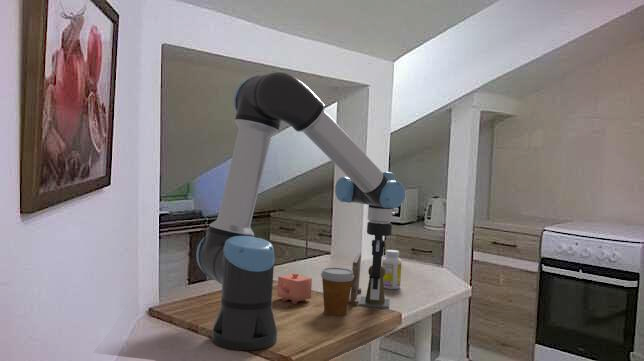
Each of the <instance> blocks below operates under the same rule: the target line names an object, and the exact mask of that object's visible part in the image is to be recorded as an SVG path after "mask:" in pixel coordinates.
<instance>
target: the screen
mask: <svg viewBox="0 0 644 361" xmlns="http://www.w3.org/2000/svg"><path fill="white" fill-rule="evenodd" d="M361 257H362V252H356V254H355V257H354V259H353V260H352V267H351V268H352V271H353V275H354V278H353V280H352V285H351V291H350V298H349V301H348V306H352V307H353V306H359V299H357V297H358V295H359V294H361V293H362V288H361V287H360V276H361V273H360V272H361V261H362V260H361V259H362V258H361Z"/></svg>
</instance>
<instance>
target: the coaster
mask: <svg viewBox="0 0 644 361" xmlns="http://www.w3.org/2000/svg"><path fill="white" fill-rule="evenodd" d="M365 299H366V296H365V295H362V296H360V298H359V301H358V306H359V307H369V308H378V309H390V298H385V303H383V304H372V303H368V302H366V301H365Z"/></svg>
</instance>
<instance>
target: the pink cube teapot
mask: <svg viewBox="0 0 644 361" xmlns="http://www.w3.org/2000/svg"><path fill="white" fill-rule="evenodd" d="M312 282H313V277H307V276H304V275H299V273H297V272H293V273H289V274H285V275H279V276H278V278H277V294H276V295H277V296H276V297H279V298H282V299H281V300H282V301H284V302H285V301H286V302H287V301H288V300H289V301H291V304H295V305H296V304H298V302H306V300H308V299H312V286H313V285H312V284H313V283H312Z"/></svg>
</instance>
